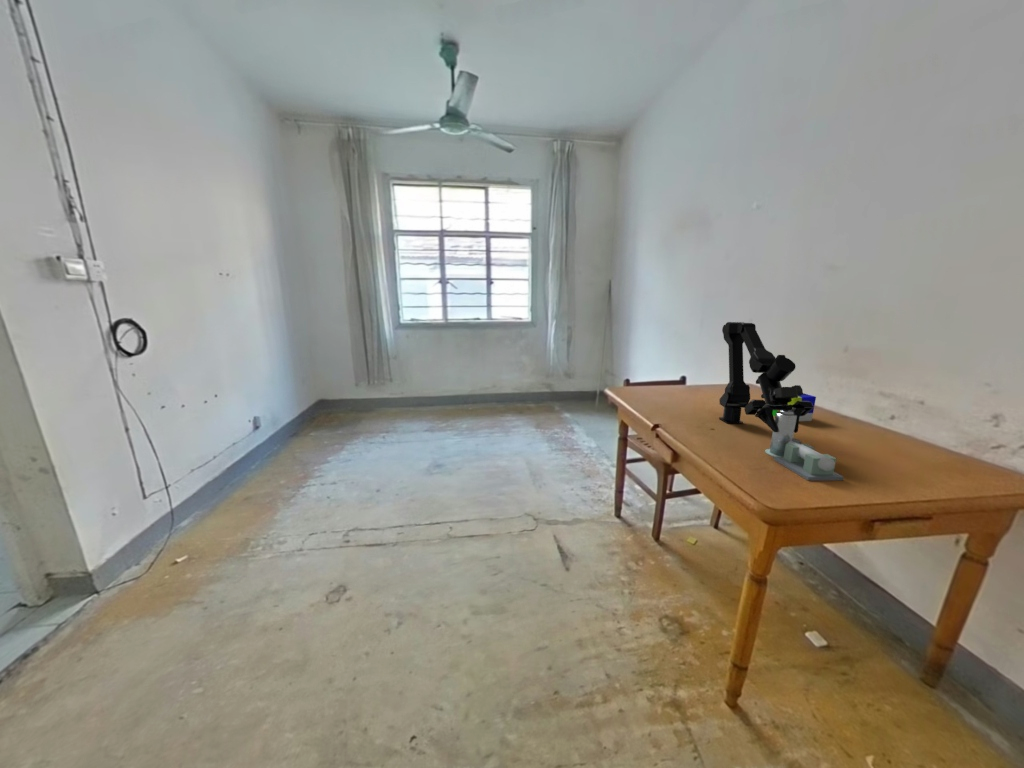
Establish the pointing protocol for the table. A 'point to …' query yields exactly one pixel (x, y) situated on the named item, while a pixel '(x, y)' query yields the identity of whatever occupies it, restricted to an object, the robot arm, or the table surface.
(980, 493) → the table surface
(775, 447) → the canister
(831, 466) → the shaft stand
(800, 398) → the puzzle toy
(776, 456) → the pale green disc
